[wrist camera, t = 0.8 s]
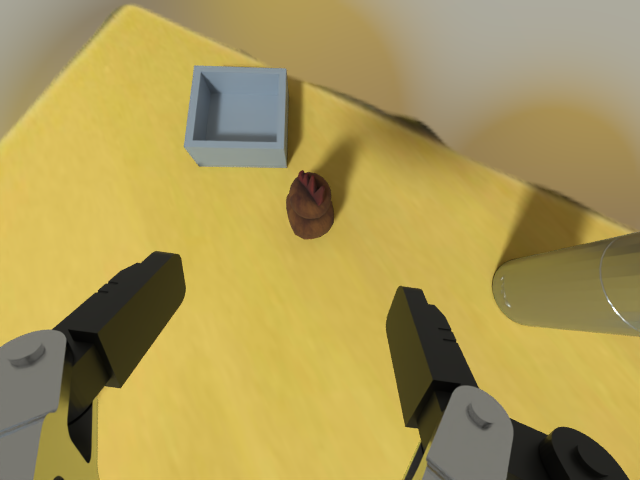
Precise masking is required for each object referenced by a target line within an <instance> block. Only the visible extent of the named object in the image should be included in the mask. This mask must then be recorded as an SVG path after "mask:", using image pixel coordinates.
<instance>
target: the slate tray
mask: <svg viewBox="0 0 640 480" xmlns="http://www.w3.org/2000/svg"><path fill="white" fill-rule="evenodd" d="M288 103H289V93H288V82H287V71H286V69H282V68H281V69H279V68H251V67H221V66H194V72H193V80H192V88H191V96H190V103H189V111H188V119H187V127H186V135H185V142H184V148H185V149H186V150H187V152H188V153H189V154H190V155H191V157H192V158H193V159H194V160H195V162H196V163H197V164H198V166H210V167H270V168H287V142H288Z"/></svg>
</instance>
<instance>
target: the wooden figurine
mask: <svg viewBox="0 0 640 480" xmlns="http://www.w3.org/2000/svg"><path fill="white" fill-rule="evenodd" d="M286 209H287V214H288V218H289V222H290V225H291V227H292V229H293V231H294V233H295V235H297V236H299V237H301V238H303V239H314V238H318V237H321V236H322V235H324V234H326V233H327V232H328V231H329V230H330V228H331V226H332V225H333V223H334V211H333V206H332V201H331V190H330V187H329V185H328V183H327V182H326V181H325V180H324V178H323V177H321V176H319V175H318V174H315V173H311V172H307V173H304V171H303V170H302V171H300V172H299V175H298V177H297V178H296V179H295V180H294V181H293V183H292V185H291V187H290V192H289V194H288V196H287V199H286Z"/></svg>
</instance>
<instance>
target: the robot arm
mask: <svg viewBox="0 0 640 480" xmlns="http://www.w3.org/2000/svg"><path fill="white" fill-rule="evenodd" d="M185 291H186V286H185V280H184V273H183V267H182V261H181V257H180V255H178V254H174V253H166V252H159V251H155V252H153V253H152V254H150V255H149V256H148V257H147V258H146V259H145V260H144V261H143V262H142V263H136V264H134V265H132V266H130V267H128V268H126V269H124V270H122V271H120V272H119V273H118V274H117V275H115V276H114V277H113V278H112V279H111V280H110V281H108V284H105V285H104V286H103V287H101V288H100V289H99V290H98V292H97V293H94V294H93V295H92V296H91V297H90V298H88V299H87V300H86V301H85V302H84V303H83V304H81V305H80V306H79V307H78V308H77V309H76V310H74V311H73V312H72V313H71V314H70V315H69V316H67V317H66V318H65V319H64V320H63V321H61V322H60V323H59V324H58V325H57V326H56V327H54V328H53V329H52V330H40V331H35V332H31V333H28V334H25V335H22V336H20V337H17V338H15V339H13V340H11V341H9V342H8V343H6V344H4V345H3V346H1V347H0V480H100V479H99V474H98V465H97V459H98V399H97V397H96V396H97V395H98V394H99V392H100V391H101V390H102V388H103V387H104V386H107V387H115V388H121V387H122V386H123V384H124V383H125V381H126V380H127V379H128V377H129V376H130V375H131V373H132V372H133V370H134V369H135V368H136V366H137V365H138V363H139V362H140V361H141V359H142V358H143V356H144V355H145V354H146V352H147V351H148V349H149V348H150V347H151V345H152V344H153V342H154V341H155V340H156V338H157V337H158V335H159V334H160V333H161V331H162V330H163V328H164V327H165V326H166V324H167V323H168V321H169V320H170V319H171V317H172V316H173V315H174V313H175V312H176V310H177V309H178V308H179V306H180V305H181V303H182V301H183V299H184V296H185ZM493 294H494V298H495V300H496V302H497V305H498V306H499V308H500V309H501V311H502V312H503V313H504V314H505V315H506V316H507V317H508V318H510V319H511V320H513V321H514V322H516V323H519V324H521V325H526V326H534V327H544V328H553V329H563V330H574V331H585V332H595V333H606V334H616V335H627V336H637V337H640V232H636V233H631V234H627V235H623V236H618V237H614V238H609V239H605V240H600V241H595V242H591V243H586V244H582V245H577V246H573V247H568V248H564V249H559V250H554V251H550V252H545V253H541V254H536V255H531V256H527V257H522V258H518V259H514V260H510V261H507V262H505V263H504V264H503V265H501V266H500V267H499V269H498V270H497V271H496V273H495V276H494V278H493ZM386 333H387V338H388V343H389V348H390V353H391V358H392V363H393V368H394V373H395V378H396V383H397V388H398V393H399V398H400V403H401V408H402V413H403V418H404V423H405V427H410V428H418V429H419V434H420V438H421V440H420V442H419V444H418V446H417V448H416V450H415V452H414V455H413V457H412V459H411V461H410V463H409V466H408V468H407V470H406V472H405V474H404V477H403V479H402V480H629V478H628V477H627V475H626V474H625V473H624V471H623V470H622V468H621V467H620V466H619V464H618V463H617V462H616V461H615V459H614V458H613V457H612V456H611V455H610V454H609V453H608V452H607V451H606V450H605V449H604V448H603V447H602V446H600V445H599V444H598V443H597V442H595V441H594V440H593V439H591V438H590V437H588V436H587V435H585V434H583V433H581V432H579V431H577V430H575V429H572V428H568V427H558V428H556V429H555V430H554V431H552V432H551V433H550V434H549V435H546V434H544V433H542V432H540V431H537V430H535V429H533V428H531V427H528V426H526V425H524V424H522V423H519V422H517V421H515V420H513V419H511V418H509V416H508V414H507V413H506V411H505V410H504V409H503V407H502V406H501V405H500V404H499V403H498V402H497V401H496V400H495V399H494V398H493V397H492V396H490V395H489V394H488V393H486V392H484V391H483V390H481V389H479V387H478V385H477V383H476V381H475V379H474V377H473V375H472V373H471V370H470V368H469V366H468V364H467V362H466V360H465V358H464V356H463V353H462V351H461V349H460V347H459V345H458V343H456V339H455V336H454V334H453V332H451V328H450V326H449V324H448V322H447V319H446V317H445V316H444V315H443V314H442V313H441V312H440V311H439V309H438V308H437V307H436V306H435V305H430V304H428V303H427V300H426V298H425V296H424V293H423V291H422V290H421V289H418V288H411V287H404V286H399V287H398V289H397V291H396V294H395V296H394V299H393V302H392V305H391V307H390V310H389V313H388V316H387V320H386Z"/></svg>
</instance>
